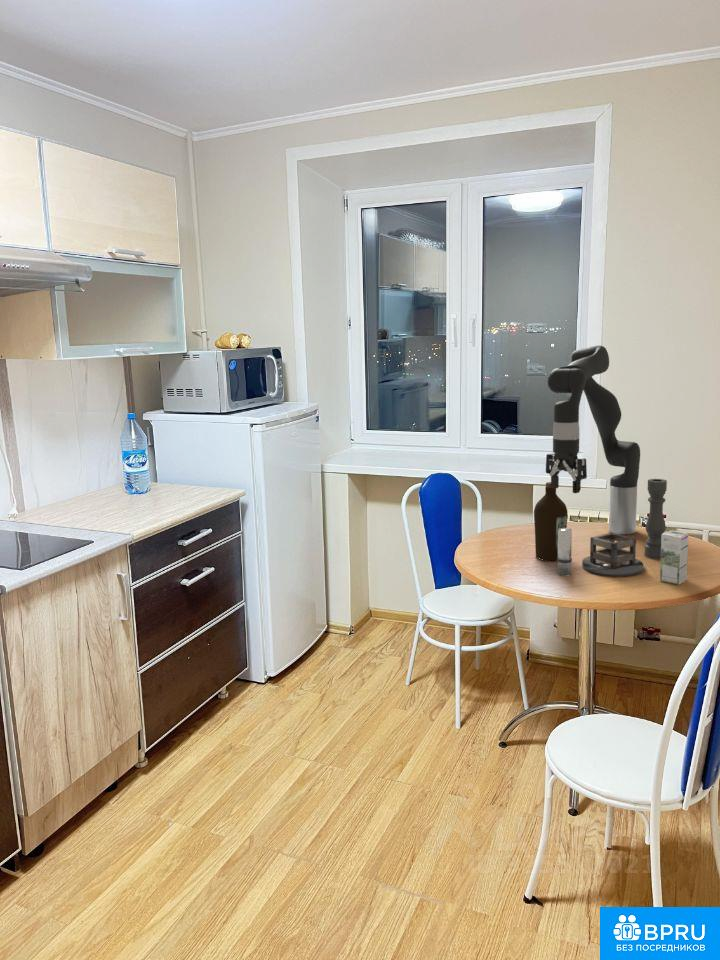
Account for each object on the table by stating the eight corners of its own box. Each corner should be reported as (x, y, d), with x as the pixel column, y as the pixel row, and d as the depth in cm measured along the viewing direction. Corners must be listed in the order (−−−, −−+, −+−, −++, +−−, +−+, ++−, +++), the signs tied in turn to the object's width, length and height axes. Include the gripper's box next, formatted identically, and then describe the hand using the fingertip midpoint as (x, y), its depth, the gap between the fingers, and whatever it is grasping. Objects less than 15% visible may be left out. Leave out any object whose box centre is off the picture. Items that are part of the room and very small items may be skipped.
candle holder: (666, 558, 229) (669, 482, 224) (646, 558, 230) (648, 482, 225) (662, 553, 235) (665, 478, 230) (642, 552, 236) (645, 478, 231)
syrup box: (687, 580, 209) (689, 532, 206) (678, 585, 205) (681, 536, 202) (667, 576, 213) (669, 529, 210) (659, 581, 209) (660, 533, 206)
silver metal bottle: (555, 571, 222) (555, 528, 219) (569, 571, 221) (569, 527, 219) (559, 576, 217) (559, 531, 215) (573, 575, 217) (573, 531, 214)
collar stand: (569, 565, 226) (570, 536, 225) (609, 555, 235) (610, 527, 233) (615, 580, 211) (615, 550, 209) (656, 569, 220) (657, 539, 218)
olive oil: (527, 558, 236) (527, 484, 231) (543, 550, 243) (543, 478, 239) (557, 563, 229) (558, 487, 224) (572, 555, 236) (573, 481, 232)
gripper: (539, 435, 216) (539, 488, 219) (574, 440, 203) (574, 496, 206) (557, 433, 219) (557, 485, 222) (593, 437, 207) (592, 492, 210)
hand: (565, 490), depth 214 cm, fingers open, 8 cm apart
